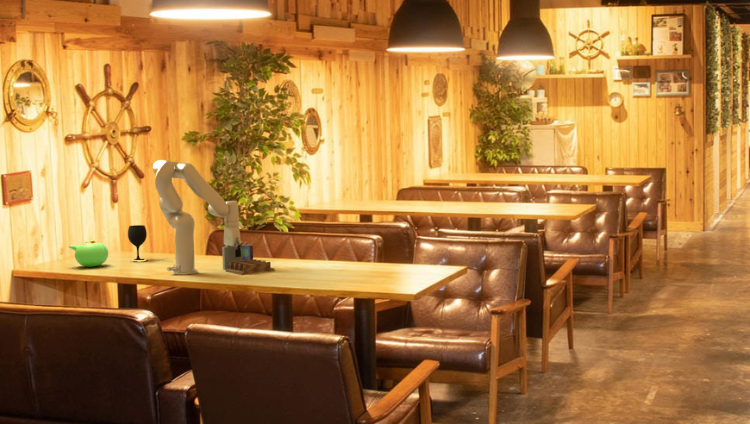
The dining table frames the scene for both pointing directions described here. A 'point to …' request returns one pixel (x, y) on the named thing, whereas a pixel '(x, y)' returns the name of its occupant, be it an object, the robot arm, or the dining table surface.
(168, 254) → the dining table surface
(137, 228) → the wine glass
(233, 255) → the plate
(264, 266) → the rack
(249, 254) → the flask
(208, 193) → the robot arm
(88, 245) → the green teapot
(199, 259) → the dining table surface
